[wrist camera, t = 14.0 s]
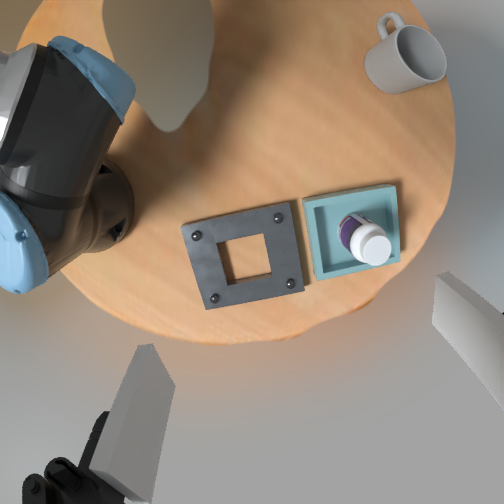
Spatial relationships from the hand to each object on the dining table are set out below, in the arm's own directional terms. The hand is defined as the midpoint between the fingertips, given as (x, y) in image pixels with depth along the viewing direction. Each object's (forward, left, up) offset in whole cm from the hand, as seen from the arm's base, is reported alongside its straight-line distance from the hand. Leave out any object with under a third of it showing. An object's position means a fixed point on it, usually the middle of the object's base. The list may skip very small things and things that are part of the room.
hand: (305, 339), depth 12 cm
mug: (+23, +20, -32) cm, 44 cm away
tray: (+12, -6, -32) cm, 35 cm away
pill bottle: (+12, -6, -31) cm, 34 cm away
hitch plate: (-5, -7, -32) cm, 33 cm away
